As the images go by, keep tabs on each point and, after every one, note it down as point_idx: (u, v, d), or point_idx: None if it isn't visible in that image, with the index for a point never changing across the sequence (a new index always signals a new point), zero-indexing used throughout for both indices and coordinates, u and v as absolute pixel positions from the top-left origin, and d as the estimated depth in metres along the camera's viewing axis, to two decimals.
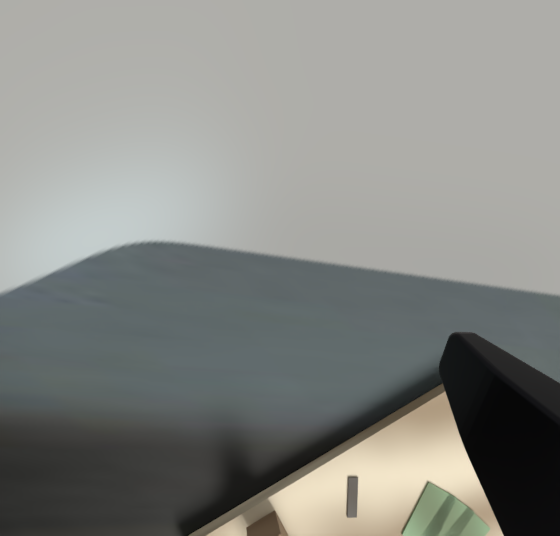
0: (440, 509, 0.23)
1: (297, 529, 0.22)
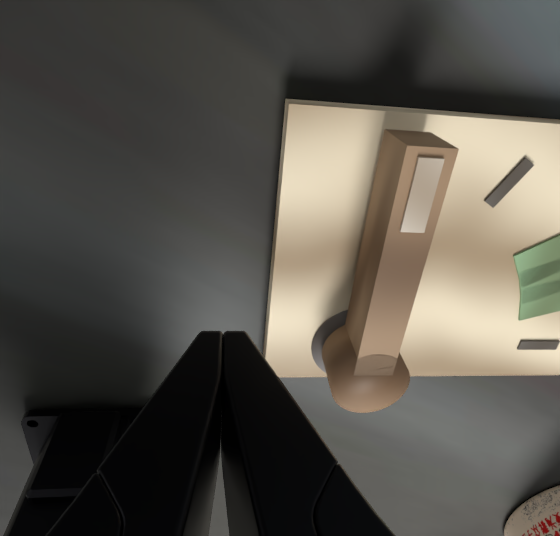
0: None
1: None
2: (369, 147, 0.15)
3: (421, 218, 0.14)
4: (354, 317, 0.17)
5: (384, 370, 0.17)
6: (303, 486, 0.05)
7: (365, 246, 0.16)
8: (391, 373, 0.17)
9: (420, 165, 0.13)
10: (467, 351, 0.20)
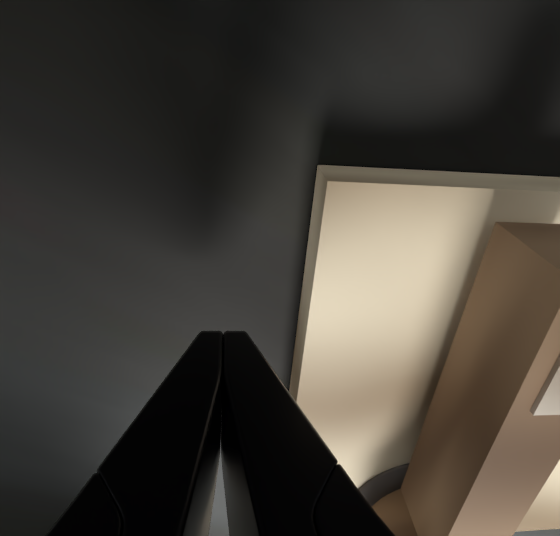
0: None
1: None
2: (461, 246, 0.09)
3: None
4: (422, 497, 0.11)
5: None
6: (303, 486, 0.05)
7: (447, 400, 0.10)
8: None
9: None
10: None
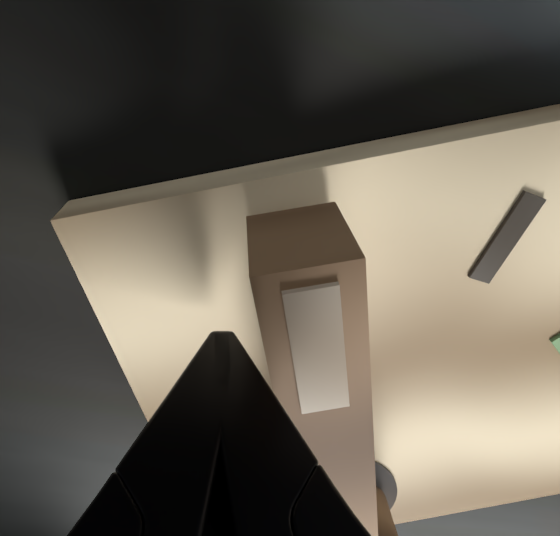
0: None
1: None
2: (225, 248, 0.08)
3: (334, 386, 0.07)
4: None
5: None
6: (282, 487, 0.05)
7: None
8: None
9: (290, 307, 0.06)
10: (513, 473, 0.13)
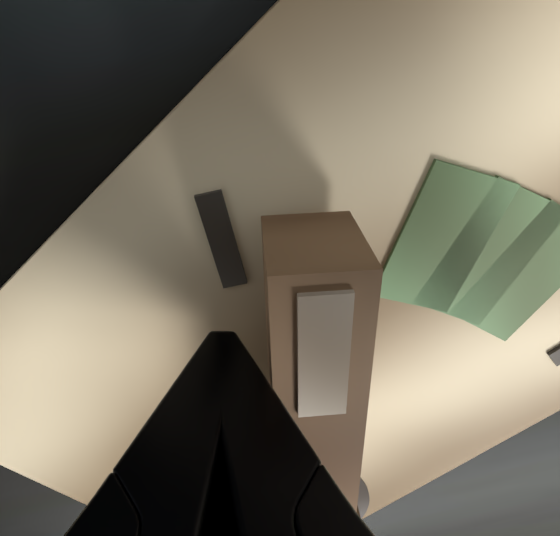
0: (472, 222, 0.09)
1: (112, 332, 0.09)
2: (9, 369, 0.09)
3: (334, 392, 0.07)
4: None
5: None
6: (285, 487, 0.05)
7: None
8: None
9: (304, 309, 0.06)
10: (472, 417, 0.11)
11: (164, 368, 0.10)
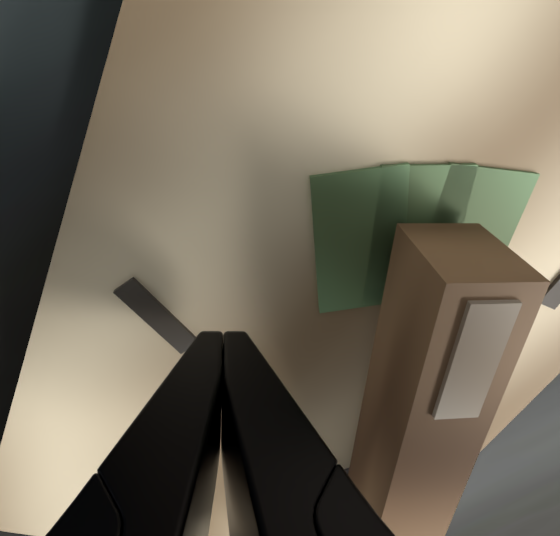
0: (382, 214, 0.08)
1: (112, 418, 0.10)
2: (49, 470, 0.11)
3: (473, 396, 0.07)
4: None
5: None
6: (303, 486, 0.05)
7: (371, 404, 0.10)
8: None
9: (473, 317, 0.06)
10: None
11: None
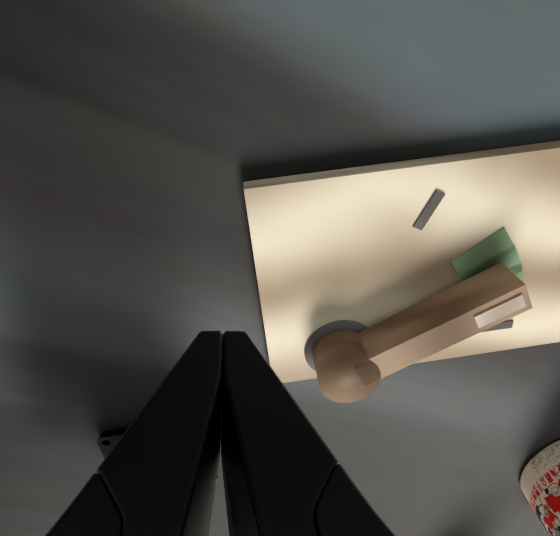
0: (496, 255, 0.22)
1: (361, 218, 0.20)
2: (311, 206, 0.20)
3: (486, 320, 0.21)
4: (381, 334, 0.22)
5: (366, 379, 0.22)
6: (303, 486, 0.05)
7: (430, 304, 0.22)
8: (366, 384, 0.22)
9: (518, 298, 0.20)
10: None
11: (361, 245, 0.21)
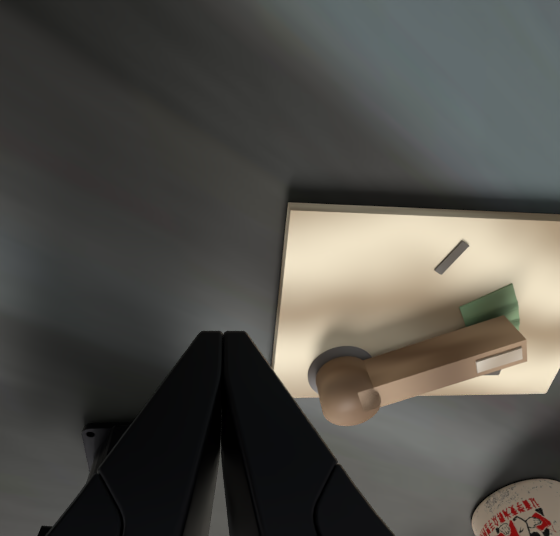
0: (499, 308, 0.24)
1: (390, 254, 0.22)
2: (348, 236, 0.21)
3: (486, 367, 0.23)
4: (386, 365, 0.24)
5: (367, 406, 0.23)
6: (303, 486, 0.05)
7: (435, 344, 0.24)
8: (365, 410, 0.23)
9: (517, 351, 0.22)
10: None
11: (384, 279, 0.22)
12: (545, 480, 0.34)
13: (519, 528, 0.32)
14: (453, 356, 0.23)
